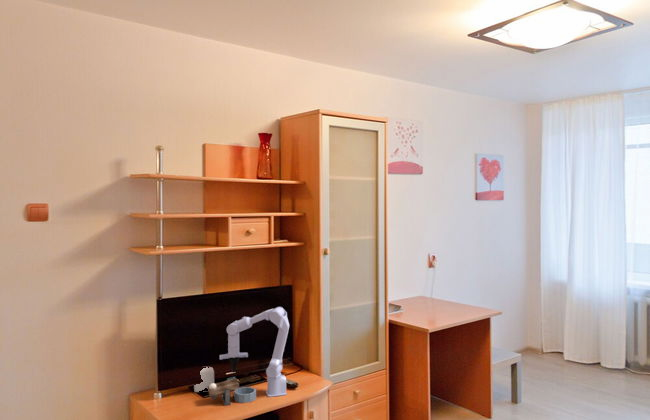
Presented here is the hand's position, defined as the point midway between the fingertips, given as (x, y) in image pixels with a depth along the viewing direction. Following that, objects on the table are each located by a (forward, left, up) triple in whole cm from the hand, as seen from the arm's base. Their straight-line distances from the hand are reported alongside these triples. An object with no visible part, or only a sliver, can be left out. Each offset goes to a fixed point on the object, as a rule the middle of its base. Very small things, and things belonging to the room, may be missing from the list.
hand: (233, 371), depth 266 cm
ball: (+12, +13, -2) cm, 18 cm away
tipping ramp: (+7, +10, -6) cm, 13 cm away
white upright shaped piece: (+15, -5, -10) cm, 19 cm away
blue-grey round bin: (-4, +13, -10) cm, 17 cm away
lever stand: (+6, +13, -10) cm, 17 cm away
